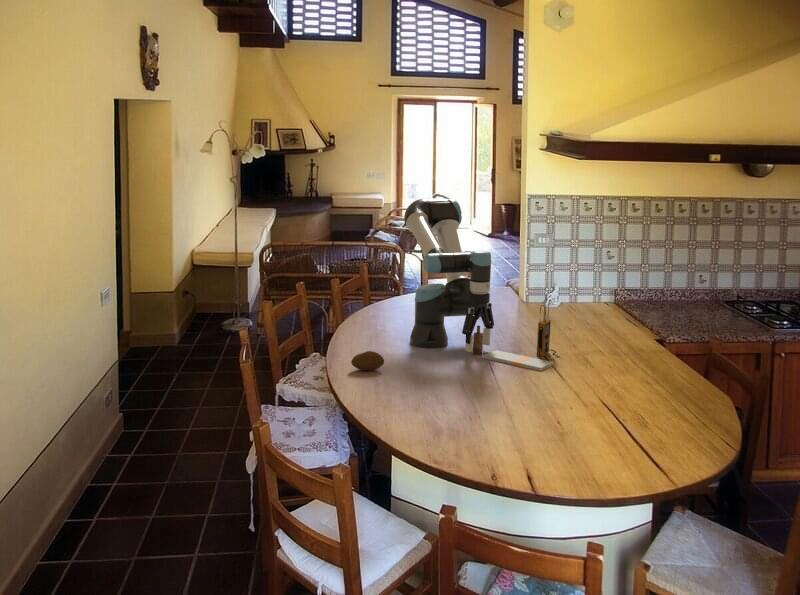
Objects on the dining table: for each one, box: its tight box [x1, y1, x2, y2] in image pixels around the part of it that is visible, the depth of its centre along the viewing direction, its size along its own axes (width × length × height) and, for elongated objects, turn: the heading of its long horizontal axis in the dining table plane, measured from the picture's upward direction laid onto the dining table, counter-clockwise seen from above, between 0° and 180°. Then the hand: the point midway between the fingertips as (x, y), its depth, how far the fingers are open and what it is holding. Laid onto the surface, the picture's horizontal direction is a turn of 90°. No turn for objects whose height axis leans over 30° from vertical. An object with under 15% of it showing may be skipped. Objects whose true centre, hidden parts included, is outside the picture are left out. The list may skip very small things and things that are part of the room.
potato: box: [350, 350, 385, 371], centre depth 272 cm, size 7×12×7 cm, turn 101°
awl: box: [472, 324, 484, 356], centre depth 294 cm, size 4×4×11 cm
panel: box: [483, 349, 554, 372], centre depth 285 cm, size 24×9×1 cm, turn 52°
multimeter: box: [536, 301, 563, 361], centre depth 292 cm, size 15×10×20 cm
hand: (477, 348), depth 294 cm, fingers open, 11 cm apart
